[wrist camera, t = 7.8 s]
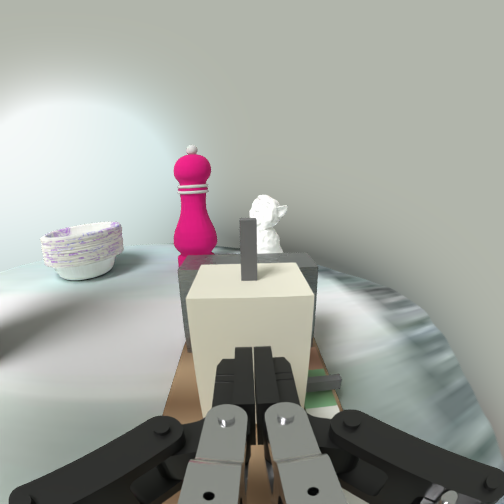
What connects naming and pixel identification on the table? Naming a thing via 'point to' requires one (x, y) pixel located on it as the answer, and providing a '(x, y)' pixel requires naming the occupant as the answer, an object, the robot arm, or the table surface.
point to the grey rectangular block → (194, 262)
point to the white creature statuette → (267, 223)
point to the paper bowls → (83, 249)
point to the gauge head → (252, 317)
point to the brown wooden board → (316, 404)
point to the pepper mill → (193, 207)
